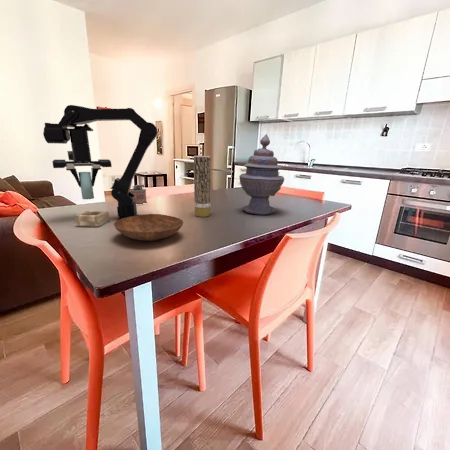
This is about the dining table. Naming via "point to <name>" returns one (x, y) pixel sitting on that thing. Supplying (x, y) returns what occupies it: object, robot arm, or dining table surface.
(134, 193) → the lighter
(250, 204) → the decorative urn
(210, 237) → the dining table surface
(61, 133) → the robot arm
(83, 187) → the peg
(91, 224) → the socket
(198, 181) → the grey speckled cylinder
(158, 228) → the bowl
